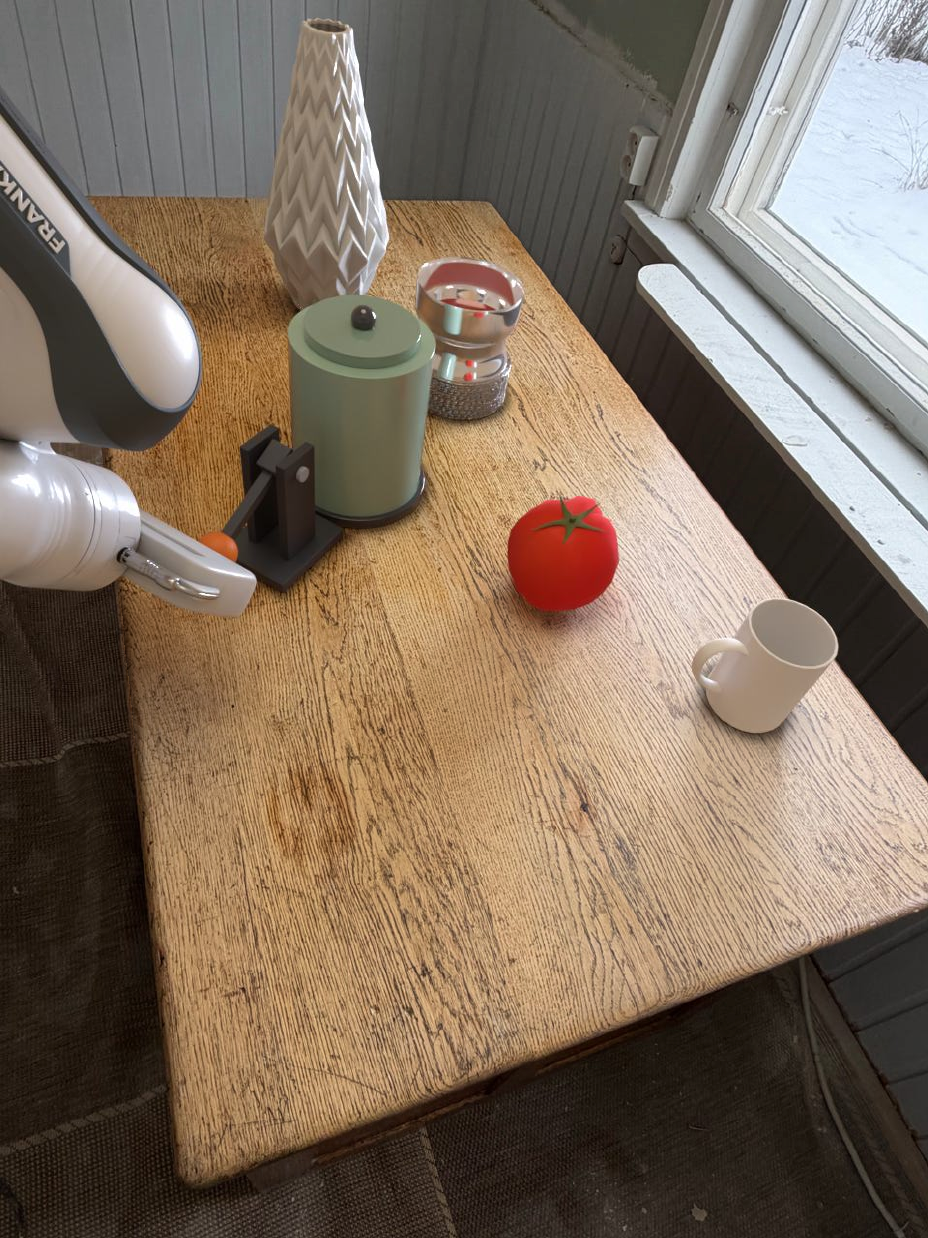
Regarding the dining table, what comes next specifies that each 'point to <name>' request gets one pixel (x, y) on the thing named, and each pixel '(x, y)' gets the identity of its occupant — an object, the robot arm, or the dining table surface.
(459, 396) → the silver candle holder
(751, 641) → the mug
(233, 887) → the dining table surface
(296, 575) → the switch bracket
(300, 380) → the green canister
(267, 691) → the dining table surface
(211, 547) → the switch
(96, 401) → the robot arm
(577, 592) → the tomato
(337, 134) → the vase
